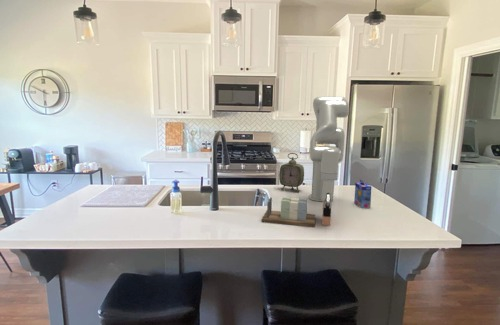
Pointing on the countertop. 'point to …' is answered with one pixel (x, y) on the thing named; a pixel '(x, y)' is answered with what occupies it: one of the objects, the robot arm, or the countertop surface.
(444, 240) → the countertop surface
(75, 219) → the countertop surface
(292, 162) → the tabletop clock
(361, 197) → the ink cartridge box
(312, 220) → the walnut shelf
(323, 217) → the terracotta rectangular block
